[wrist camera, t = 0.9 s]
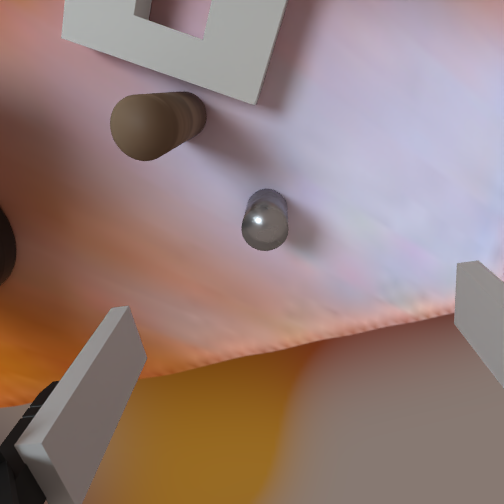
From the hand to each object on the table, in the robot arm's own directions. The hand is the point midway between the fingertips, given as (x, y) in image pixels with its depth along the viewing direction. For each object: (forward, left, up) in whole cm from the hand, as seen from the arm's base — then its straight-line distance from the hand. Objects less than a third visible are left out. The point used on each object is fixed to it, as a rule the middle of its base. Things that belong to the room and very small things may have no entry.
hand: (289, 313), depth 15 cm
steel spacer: (-1, -3, -23) cm, 24 cm away
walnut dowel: (-11, +3, -23) cm, 26 cm away
